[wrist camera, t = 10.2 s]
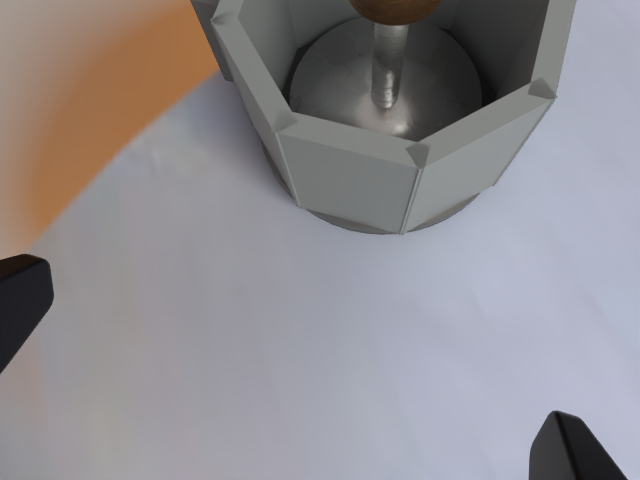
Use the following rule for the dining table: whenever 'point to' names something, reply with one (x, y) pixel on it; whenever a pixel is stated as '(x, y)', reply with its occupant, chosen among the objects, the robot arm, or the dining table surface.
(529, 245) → the dining table surface
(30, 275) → the robot arm
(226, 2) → the press jug
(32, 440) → the dining table surface
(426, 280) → the dining table surface
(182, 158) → the dining table surface
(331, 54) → the plunger
